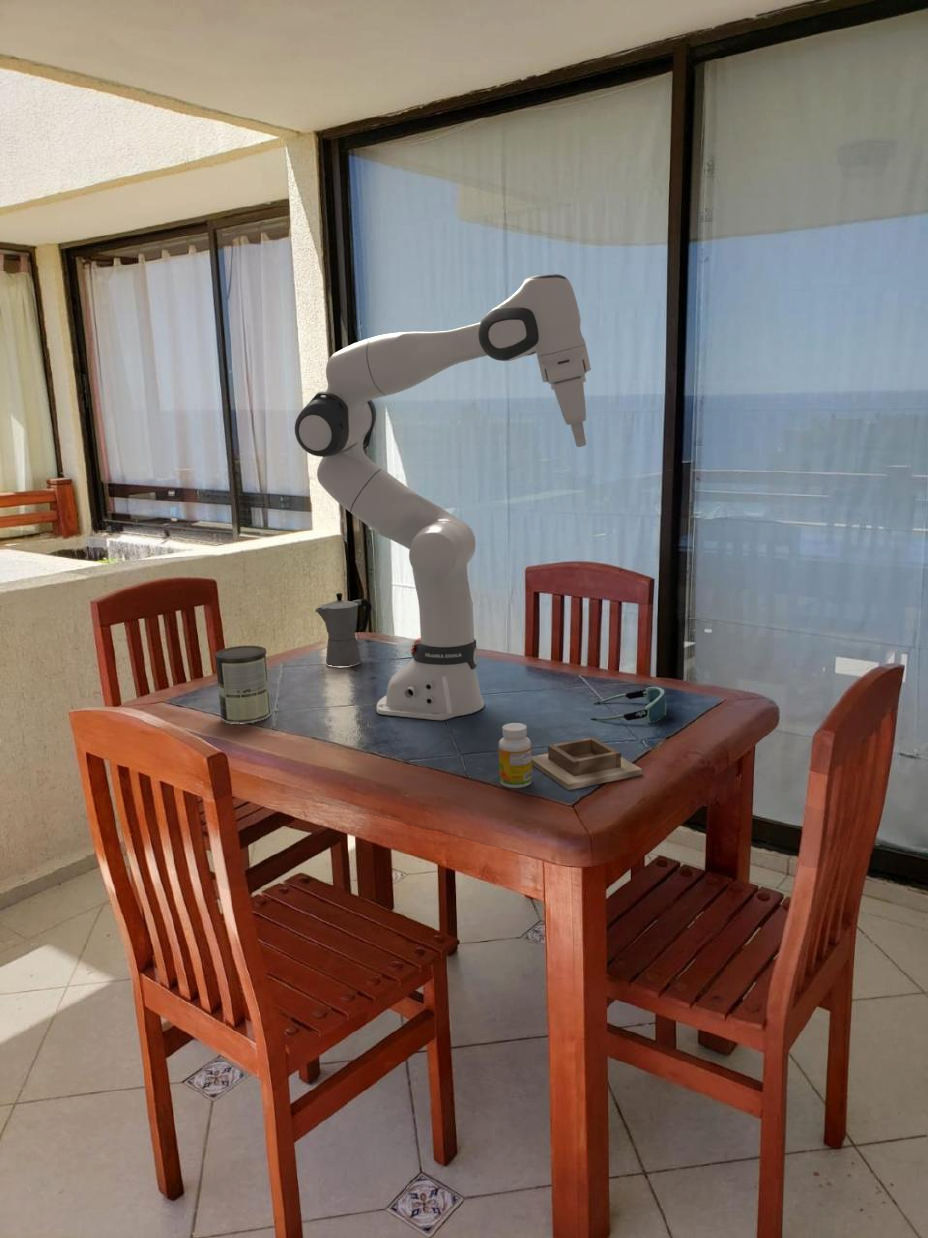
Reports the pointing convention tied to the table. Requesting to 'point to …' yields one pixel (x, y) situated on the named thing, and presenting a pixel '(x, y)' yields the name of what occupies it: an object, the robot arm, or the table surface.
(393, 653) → the table surface
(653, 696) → the sunglasses
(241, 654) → the coffee can
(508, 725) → the supplement bottle
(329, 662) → the coffeepot
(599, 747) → the collar board
